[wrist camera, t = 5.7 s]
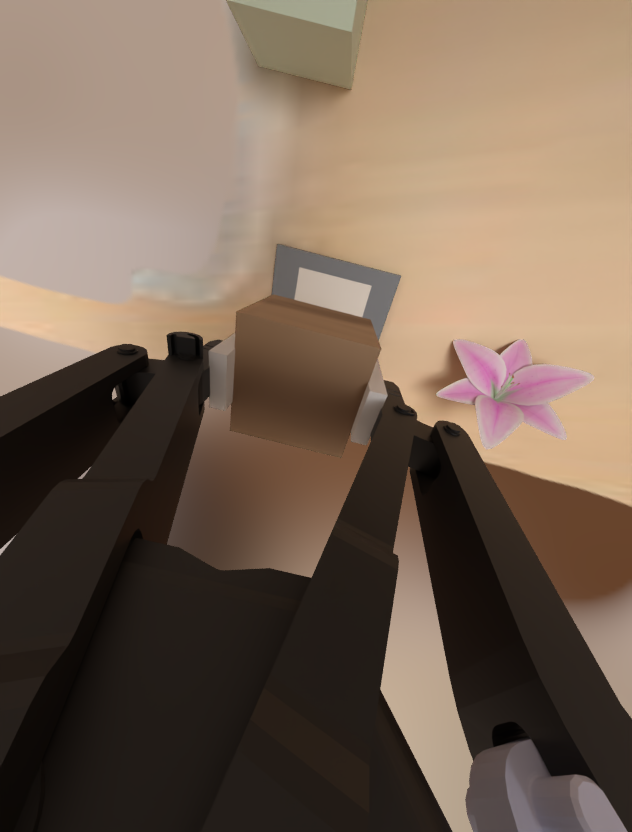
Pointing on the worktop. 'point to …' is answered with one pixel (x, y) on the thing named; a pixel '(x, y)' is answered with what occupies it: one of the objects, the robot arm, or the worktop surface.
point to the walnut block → (300, 373)
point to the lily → (511, 390)
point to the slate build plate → (334, 284)
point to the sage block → (304, 36)
